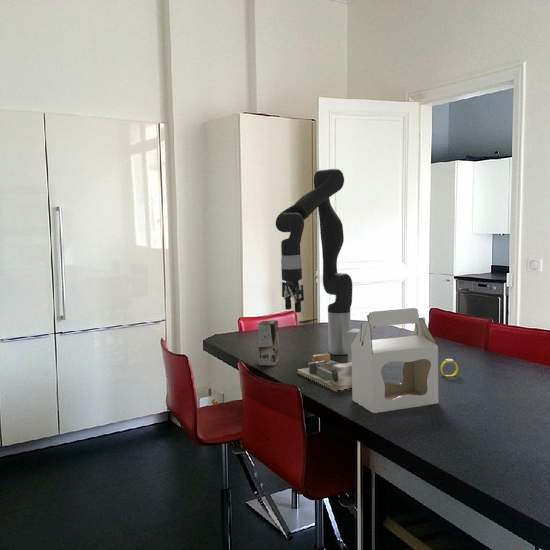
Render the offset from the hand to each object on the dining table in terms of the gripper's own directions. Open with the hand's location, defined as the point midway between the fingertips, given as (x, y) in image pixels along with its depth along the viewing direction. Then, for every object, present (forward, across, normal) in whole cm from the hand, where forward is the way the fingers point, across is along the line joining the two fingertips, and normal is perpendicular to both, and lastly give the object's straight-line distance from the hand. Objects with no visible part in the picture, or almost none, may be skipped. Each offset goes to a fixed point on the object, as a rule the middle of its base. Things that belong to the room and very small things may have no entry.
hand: (293, 310), depth 213 cm
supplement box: (+22, -4, -25) cm, 34 cm away
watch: (+22, -36, -42) cm, 60 cm away
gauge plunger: (+20, -13, -4) cm, 24 cm away
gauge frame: (+22, -20, -6) cm, 30 cm away
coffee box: (+22, +13, +5) cm, 26 cm away
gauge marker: (+20, -16, +1) cm, 25 cm away
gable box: (+22, -51, -9) cm, 56 cm away
